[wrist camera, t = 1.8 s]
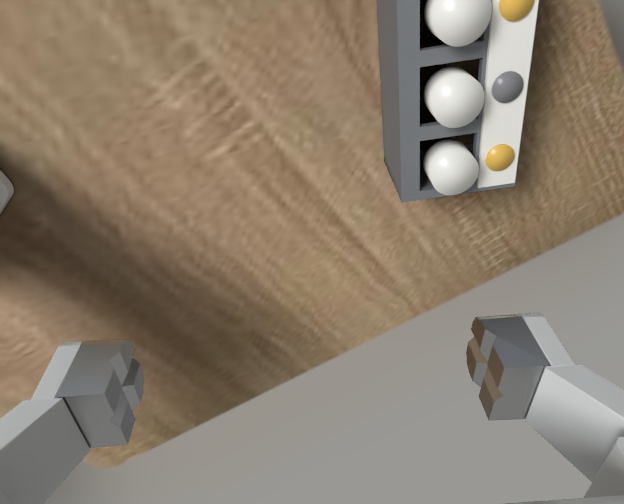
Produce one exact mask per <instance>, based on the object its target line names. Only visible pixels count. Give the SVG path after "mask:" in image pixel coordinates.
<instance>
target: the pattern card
mask: <svg viewBox="0 0 624 504" xmlns="http://www.w3.org/2000/svg"><path fill="white" fill-rule="evenodd" d="M538 3H539V0H492V1H491V5H492V12H491V18H490V26H489V38H488V51H487V64H486V76H485V89H484V95H485V99H484V104H483V114H482V127H481V139H480V152H479V164H478V166H479V173H478V177H477V187H478V188H482V187H489V186H496V185H503V184H510V183H515V178H516V170H517V163H518V155H519V147H520V140H521V132H522V125H523V117H524V109H525V102H526V94H527V86H528V79H529V71H530V64H531V56H532V48H533V41H534V33H535V26H536V18H537V10H538Z"/></svg>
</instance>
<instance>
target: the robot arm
mask: <svg viewBox="0 0 624 504" xmlns="http://www.w3.org/2000/svg"><path fill="white" fill-rule="evenodd" d="M13 193H14V188H13V185H12V183H11V182H10V181H9V179H8V178H7V177H6V176H5V175H4V174H3V172H2V171H1V170H0V214H1V212H2V211H3V209H4V208H5V206H6V204H7V203H8V201H9V200H10V198H11V197H12V195H13ZM471 330H472V332H473V334H474V338H472V339H471V340H470V341H469V342H468V347H467V352H466V353H467V365H468V369H469V373H470V376H471V378H472V381H473V382H475V383H476V384H477V385H479V386H480V387H481V390H480V394H479V398H480V400H481V403H482V405H483V408H484V410H485V412H486V415H487V417H488V420H512V419H526V420H525V421H526V422H527V423H528V424H529V425H530V426H531V427H533V428H534V429H535V430H536V431H537V432H538V433H539V434H540V435H541V436H542V437H543V438H544V439H546V440H547V441H548V442H549V443H550V444H551V445H552V446H553V447H554V448H555V449H556V450H558V451H559V452H560V453H561V454H562V455H563V456H564V457H565V458H566V459H567V460H569V461H570V462H571V463H572V464H573V465H574V466H575V467H576V468H577V469H578V470H579V471H581V472H582V473H583V474H584V475H585V476H586V477H587V478H588V479H589V480H590V481H592V484H591V486H590V487H589V489H588V491H587V493H586V494H585V496H584V498H578V499H563V500H550V501H535V502H522V503H507V504H624V390H623V389H622V388H620V387H618V386H617V385H615V384H613V383H612V382H610V381H608V380H607V379H605V378H604V377H602V376H600V375H598V374H597V373H595V372H594V371H592V370H591V369H589V368H587V367H586V366H584V365H582V364H575V363H574V361H573V360H572V358H571V357H570V355H569V354H568V352H567V351H566V349H565V348H564V346H563V345H562V343H561V341H560V340H559V338H558V337H557V336H556V334H555V333H554V331H553V329H552V328H551V327H550V325H549V323H548V322H547V320H546V319H545V317H544V316H543V315H542V314H540V313H528V314H518V315H515V314H514V315H500V316H487V317H476V318H475V319H474V321H473V324H472V328H471ZM134 352H135V349H134V346H133V344H132V342H131V340H128V339H123V340H96V341H82V342H63V343H62V344H61V345H60V346H58V348H57V350H56V352H55V354H54V355H53V357H52V359H51V361H50V363H49V365H48V367H47V369H46V371H45V373H44V375H43V377H42V379H41V381H40V383H39V384H38V386H37V388H36V390H35V392H34V394H33V396H32V398H31V400H24V401H23V402H21V403H20V404H19V405H17V406H16V407H15V408H13V409H12V410H11V411H10V412H8V413H7V414H6V415H4V416H3V417H2V418H1V419H0V504H44V503H45V501H46V500H47V499H48V498H49V497H50V496H51V495H52V493H53V492H54V491H55V490H56V489H57V488H58V486H59V485H60V484H61V483H62V482H63V481H64V480H65V479H66V477H67V476H68V475H69V474H70V473H71V472H72V471H73V470H74V468H75V467H76V466H77V465H78V464H79V463H80V462H81V460H82V459H83V458H84V457H85V456H86V455H87V454H88V453H89V451H90V448H97V447H107V446H118V445H128V442H129V439H130V435H131V432H132V429H133V425H134V422H135V417H134V414H133V412H132V410H133V409H134V408H135V407H136V406H137V405H138V404H139V403H140V401H141V397H142V393H143V383H144V378H143V371H142V368H141V365H140V363H139V362H138V361H136V360H135V359H133V355H134Z"/></svg>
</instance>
